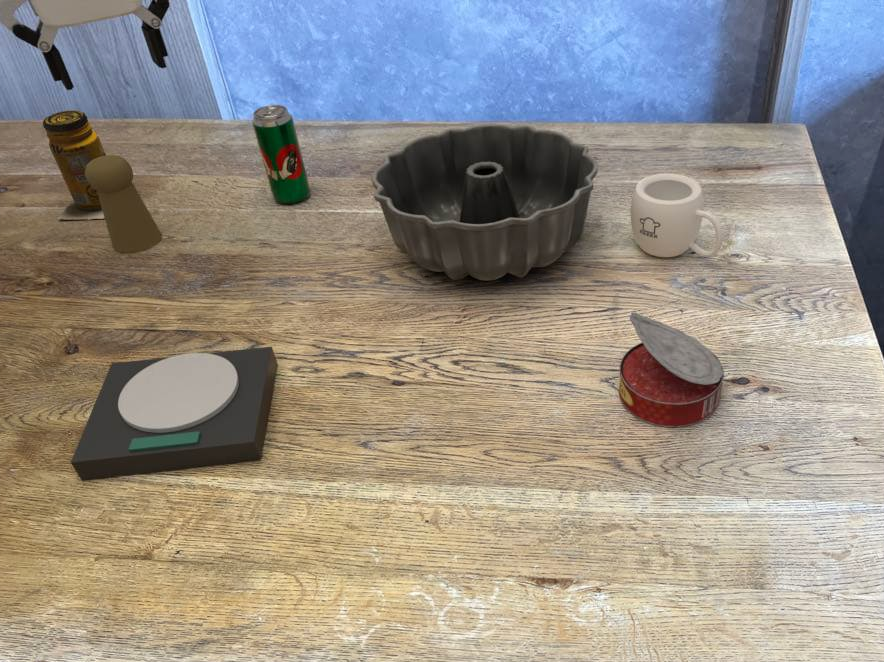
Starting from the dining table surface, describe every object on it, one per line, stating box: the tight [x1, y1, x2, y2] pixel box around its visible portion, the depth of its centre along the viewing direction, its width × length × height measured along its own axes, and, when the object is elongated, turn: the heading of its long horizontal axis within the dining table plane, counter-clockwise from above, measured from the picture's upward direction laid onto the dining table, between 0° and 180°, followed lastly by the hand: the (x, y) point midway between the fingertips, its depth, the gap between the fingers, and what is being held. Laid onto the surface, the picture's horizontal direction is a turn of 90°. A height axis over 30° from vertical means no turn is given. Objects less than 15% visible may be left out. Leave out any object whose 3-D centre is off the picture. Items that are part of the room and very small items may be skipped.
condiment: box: [42, 109, 107, 221], centre depth 109 cm, size 7×8×12 cm
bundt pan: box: [371, 123, 599, 282], centre depth 98 cm, size 26×26×10 cm
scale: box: [70, 346, 278, 481], centre depth 78 cm, size 16×14×3 cm
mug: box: [630, 173, 723, 258], centre depth 96 cm, size 12×8×8 cm
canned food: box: [618, 312, 725, 428], centre depth 78 cm, size 11×10×10 cm
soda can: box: [252, 104, 311, 205], centre depth 108 cm, size 5×5×12 cm
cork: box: [85, 154, 163, 254], centre depth 101 cm, size 6×6×11 cm
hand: (115, 75), depth 88 cm, fingers open, 9 cm apart
